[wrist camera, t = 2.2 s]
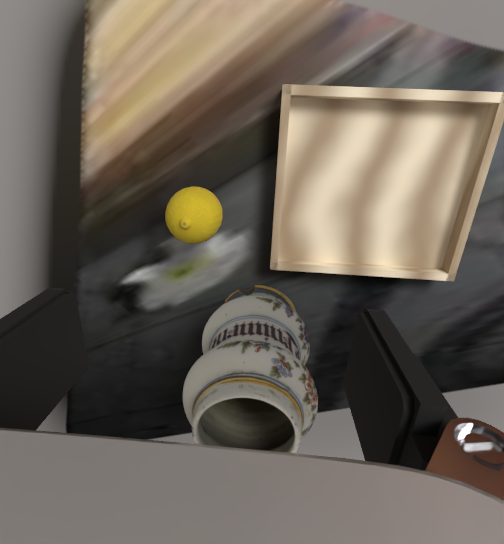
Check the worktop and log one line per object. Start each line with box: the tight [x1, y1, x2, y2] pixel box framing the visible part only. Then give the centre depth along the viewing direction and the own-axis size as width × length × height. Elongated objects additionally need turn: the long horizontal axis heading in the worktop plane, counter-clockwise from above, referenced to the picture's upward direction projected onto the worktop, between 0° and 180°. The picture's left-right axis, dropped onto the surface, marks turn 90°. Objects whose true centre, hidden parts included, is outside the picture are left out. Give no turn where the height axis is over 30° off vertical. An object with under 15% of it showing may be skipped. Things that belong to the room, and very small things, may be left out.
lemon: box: [165, 187, 223, 244], centre depth 32 cm, size 6×6×8 cm
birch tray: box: [270, 84, 504, 281], centre depth 32 cm, size 20×18×2 cm
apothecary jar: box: [183, 285, 318, 453], centre depth 32 cm, size 12×12×18 cm
